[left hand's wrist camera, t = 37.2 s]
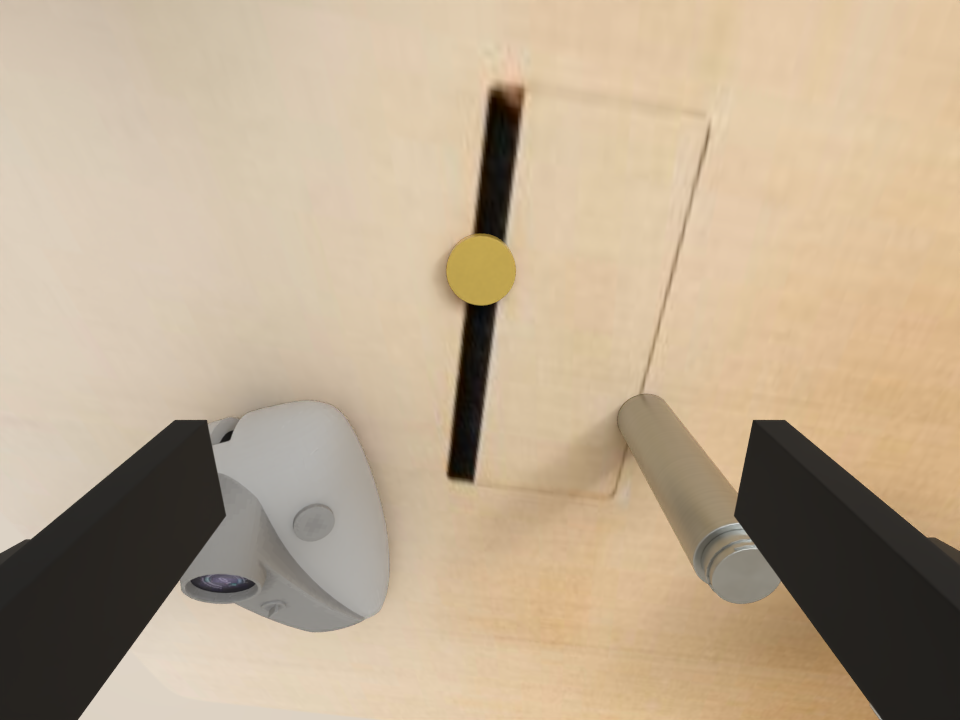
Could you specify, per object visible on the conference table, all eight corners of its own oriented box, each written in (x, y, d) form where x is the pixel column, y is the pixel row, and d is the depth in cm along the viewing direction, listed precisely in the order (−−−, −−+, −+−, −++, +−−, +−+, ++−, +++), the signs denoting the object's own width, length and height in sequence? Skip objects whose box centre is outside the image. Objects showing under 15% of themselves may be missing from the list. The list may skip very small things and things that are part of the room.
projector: (149, 543, 49) (22, 688, 36) (217, 335, 42) (90, 416, 28) (367, 621, 53) (328, 781, 39) (464, 441, 45) (458, 559, 32)
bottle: (675, 431, 45) (797, 596, 28) (624, 447, 46) (713, 619, 28) (663, 386, 44) (784, 531, 26) (611, 403, 44) (695, 556, 27)
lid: (518, 237, 40) (519, 240, 38) (510, 303, 41) (511, 308, 40) (450, 229, 39) (449, 232, 38) (445, 296, 41) (443, 302, 40)
